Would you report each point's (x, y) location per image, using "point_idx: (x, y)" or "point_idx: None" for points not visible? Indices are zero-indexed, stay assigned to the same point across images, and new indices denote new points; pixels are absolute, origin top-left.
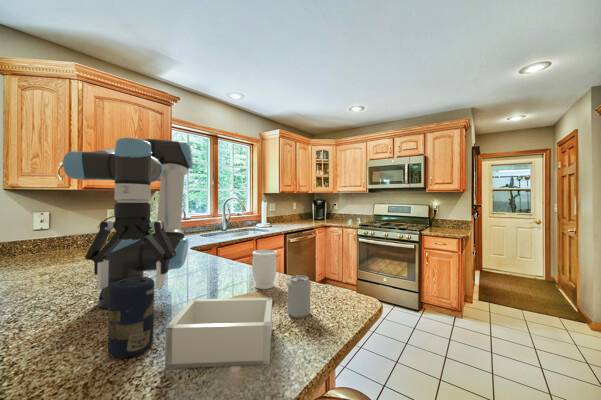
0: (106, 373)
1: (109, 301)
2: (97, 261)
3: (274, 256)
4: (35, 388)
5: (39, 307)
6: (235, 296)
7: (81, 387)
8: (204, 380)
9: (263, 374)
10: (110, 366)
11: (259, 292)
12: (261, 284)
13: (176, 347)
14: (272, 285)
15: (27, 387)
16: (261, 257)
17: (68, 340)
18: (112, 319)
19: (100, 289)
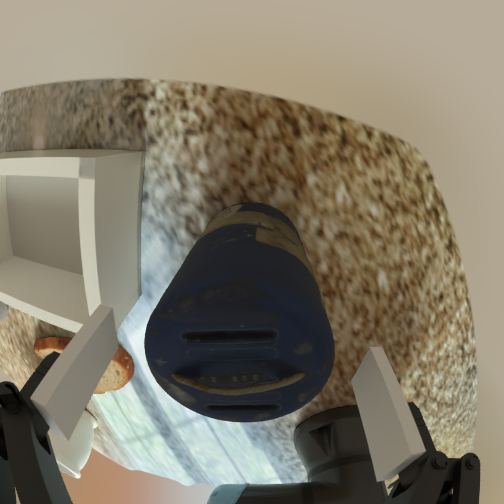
0: (269, 158)
1: (313, 286)
2: (428, 457)
3: None
4: (386, 148)
5: (448, 404)
6: (99, 391)
7: (300, 122)
8: (74, 112)
9: (12, 128)
10: (272, 183)
11: None
12: None
13: (100, 152)
14: None
15: (400, 157)
16: (54, 452)
17: (397, 310)
18: (287, 241)
19: (370, 347)
